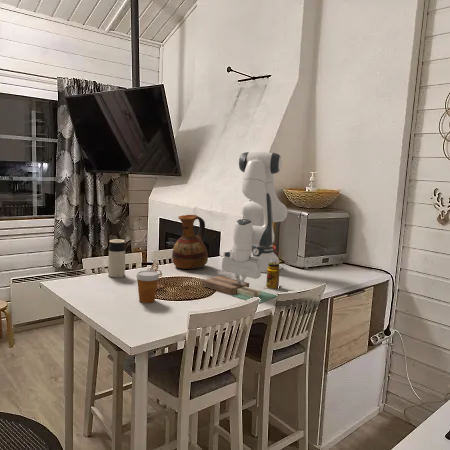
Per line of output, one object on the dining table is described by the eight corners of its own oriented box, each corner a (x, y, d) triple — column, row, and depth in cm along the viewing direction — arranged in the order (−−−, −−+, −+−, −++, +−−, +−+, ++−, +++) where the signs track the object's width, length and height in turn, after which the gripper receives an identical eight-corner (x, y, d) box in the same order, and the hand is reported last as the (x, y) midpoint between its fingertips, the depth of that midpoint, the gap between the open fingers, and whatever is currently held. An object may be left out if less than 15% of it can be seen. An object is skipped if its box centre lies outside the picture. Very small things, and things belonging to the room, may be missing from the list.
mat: (252, 289, 201) (252, 288, 201) (277, 296, 193) (278, 295, 193) (232, 296, 189) (232, 295, 189) (258, 303, 180) (258, 303, 180)
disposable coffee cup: (138, 305, 170) (138, 276, 168) (133, 298, 179) (134, 270, 177) (161, 303, 174) (162, 275, 172) (155, 296, 182) (156, 269, 181)
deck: (219, 281, 212) (220, 275, 212) (248, 289, 201) (249, 283, 201) (201, 286, 201) (201, 280, 201) (231, 295, 190) (231, 288, 190)
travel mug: (119, 278, 207) (119, 242, 205) (105, 276, 210) (105, 241, 207) (127, 275, 215) (128, 240, 212) (114, 273, 217) (114, 238, 215)
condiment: (263, 288, 204) (265, 264, 203) (268, 284, 212) (269, 260, 211) (278, 290, 202) (279, 266, 200) (282, 286, 210) (284, 262, 208)
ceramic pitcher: (165, 265, 239) (166, 213, 235) (192, 261, 252) (195, 211, 248) (186, 273, 225) (188, 217, 220) (214, 268, 238) (217, 216, 234)
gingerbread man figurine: (159, 286, 198) (160, 261, 197) (164, 288, 196) (165, 262, 194) (143, 289, 192) (144, 263, 190) (149, 291, 189) (150, 265, 188)
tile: (244, 290, 198) (244, 286, 197) (260, 294, 192) (260, 290, 192) (236, 293, 193) (237, 288, 193) (252, 297, 187) (253, 293, 187)
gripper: (264, 257, 190) (262, 287, 192) (228, 250, 203) (227, 278, 205) (257, 259, 185) (255, 290, 187) (220, 252, 198) (219, 280, 200)
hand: (240, 283), depth 196 cm, fingers closed
